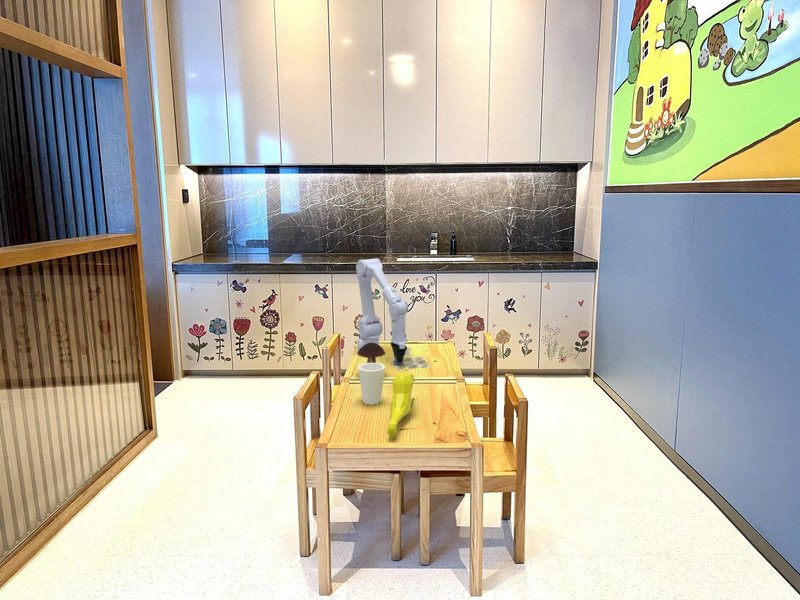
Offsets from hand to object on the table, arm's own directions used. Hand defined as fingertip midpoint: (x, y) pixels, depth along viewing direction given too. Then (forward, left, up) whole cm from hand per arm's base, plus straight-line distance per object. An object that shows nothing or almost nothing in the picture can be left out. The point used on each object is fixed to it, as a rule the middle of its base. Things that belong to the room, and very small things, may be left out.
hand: (398, 360), depth 242 cm
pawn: (0, 0, -1) cm, 1 cm away
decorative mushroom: (-14, -13, -3) cm, 19 cm away
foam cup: (-18, -37, -3) cm, 41 cm away
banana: (-11, -53, -3) cm, 54 cm away
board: (+5, 0, -3) cm, 6 cm away
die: (+5, +13, -3) cm, 14 cm away
